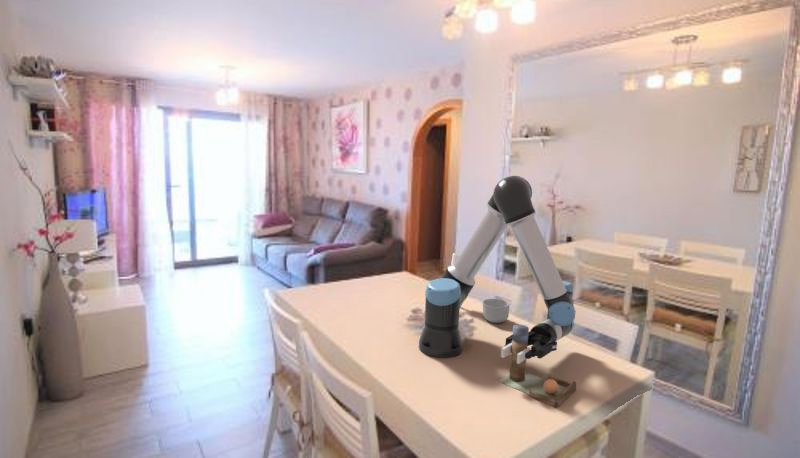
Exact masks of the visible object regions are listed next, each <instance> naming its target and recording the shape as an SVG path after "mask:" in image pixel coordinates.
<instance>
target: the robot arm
mask: <svg viewBox="0 0 800 458" xmlns="http://www.w3.org/2000/svg"><path fill="white" fill-rule="evenodd" d="M532 196H533V188H532V186H531V183H530V182H529V181H528V180H526V179H525V178H524V177H522V176H519V175H510V176H507V177H504V178H502V179H501V180H499V181H498V182H497V184H496V185H495V187H494V189H493V193H492V195H491V197H490V199H489V200H488V202H487V203H486V206H487V212H486V213H485V215H484V216H483V218H482V219H481V221H480V222H479V224H478V226H477V227H476V229H475V231H474V232H473V234H472V235H471V237H470V239H469V240H468V242H467V244H466V245H465V247H464V249H463V250H462V252H460V253H461V255H460V256H459V258H458V259H457V261H456V263H455V264H454V265H448V266H447V268H446V270H445V271H444V272H443V274H442V276H441V277H440V278H439V277H438V278H436V279H432V280H430V281H429V282H428V283H427V284H426V288H425V292H424V293H425V295H424V296H425V307H424V309H425V310H424V327H423V329H422V332H421V335H420V337H419V338H418V349H419V350H420V351H421V352H422V353H423V354H425V355H427V356H430V357H434V358H453V357H457V356H458V355H460V354H462V352H463V346H464V344H463V339H462V336H461V332H460V328H459V325H460V324H459V322H460V311H461V310H460V309H461V308H460V307H461V305H463V304H464V302H465V301H466V300H467V298H468V296H469V294H470V292H471V291H472V290H473V288H474V286H475V285H476V280H475V277H476V276H477V274H478V272H479V271H480V269H481V268H482V266H483V265H484V263H485V262H486V260H487V259H488V257H489V255H490V254H491V252H492V251H493V249H494V248H495V246H496V244H497V243H498V241H499V240H500V239H501V237H502V236H503V234H504V233H505V231H506V229H507V227H508V226H509V227H510V228H511V230H512V232H513V235H514V237H515V240H516V241H517V243H518V245H519V247H520V251H521V252H522V254H523V257H524V259H525V261H526V263H527V266H528V267H529V268H528V269H529V270H530V272H531V274H532V277H533V279H534V281H535V283H536V285H537V287H538V289H539V292H540V295H541V297H542V299H543V302H544V303H545V306H546V308H547V315H546V319H545V320H543V321H541V322H539V323H538V324H536V325H534V326H533V327H532V328H531V329H530V331H529V332H528V345H527V348H526V349H525V350H523V351H521V352H520V353H518V354H517V363H518V364H520V363H521V362H523V361H524V360H526V361H527V360H530V359H531V358H535V357H536V358H537V359H542V358H544V357H546V356H548V354H550V353H551V352H555V351H557V348H558V341H560V340H561V339H562V338H564V337H566V336H568V335H569V334H570V333H571V332H572V330H574V327H575V319H576V309H575V306H574V299H573V297H574V296H573V295H574V285H573V283H571V282H569V281H565V280H563V279H562V277H561V274H560V272H559V270H558V267H557V266H556V264H555V261H554V259H553V257H552V254H551V252H550V250H549V248H548V246H547V243H546V241H545V239H544V236H543V234H542V232H541V230H540V227H539V225H538V222H537V221H536V218H535V215H536V209H535V208H534V205H533V202H532ZM512 337H513V333H512V334H510V335H509V336H508V337H506V338H505V344H504V346H503V347H502V348H501V351H500V358H502V359H504V358H506V357H507V356H509V355H511V351H512Z"/></svg>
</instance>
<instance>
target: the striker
mask: <svg viewBox="0 0 800 458" xmlns="http://www.w3.org/2000/svg"><path fill="white" fill-rule="evenodd" d="M529 330H530V328H529V327H528V326H527V325H524V324H514V325H513V326H512V334H513V337H512V351H511V354H510V365H509V367H510V368H509V374H510V379H511V380H513V381H516V382H523V381H524V380H525V372H526V370H527V369H526V368H527V359H526V360H524V361H523V362H521V363H520V364H518V363H517V354H518V353H520V352H521V351H523V350H525V349H526V348H528V346H527V345H528V332H530V331H529Z"/></svg>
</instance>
